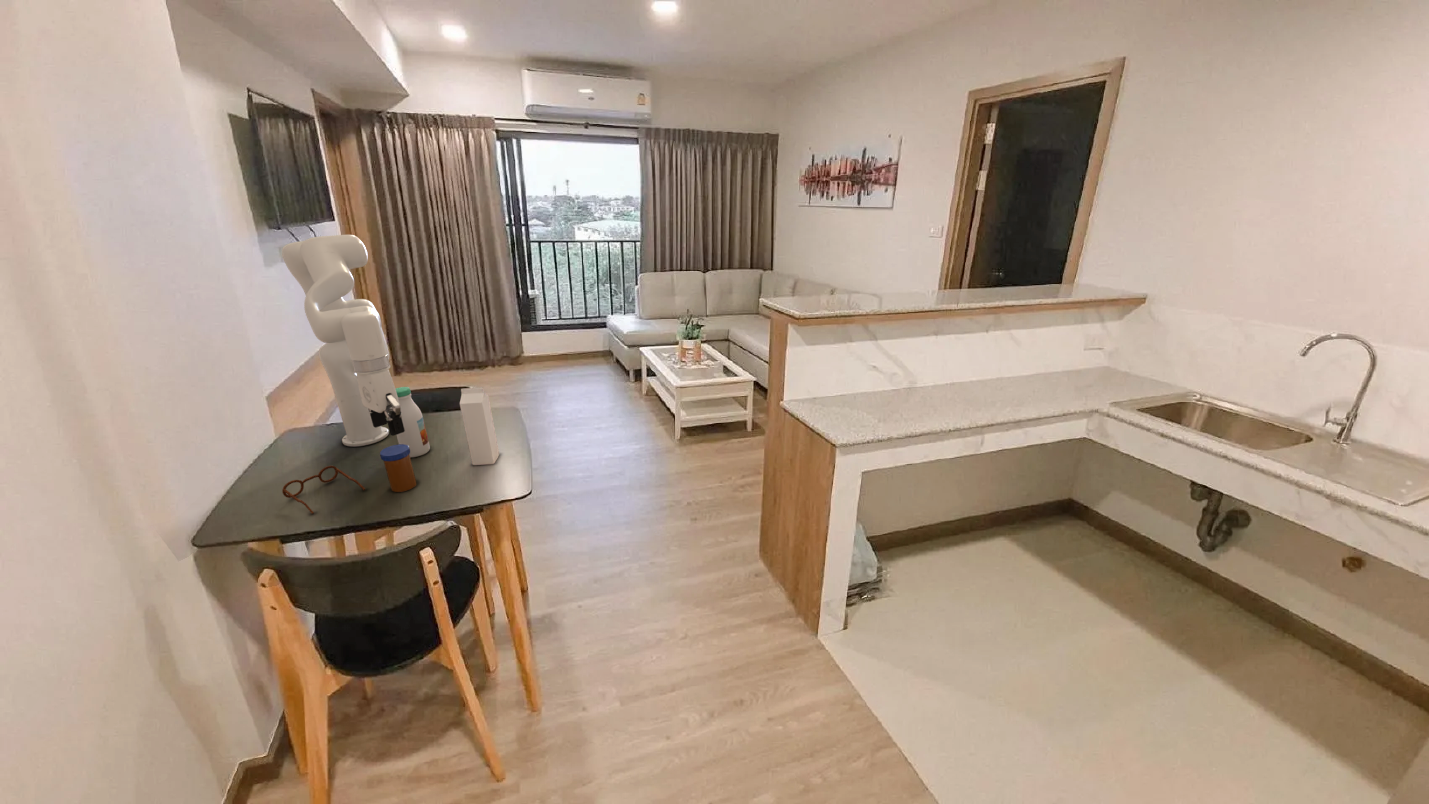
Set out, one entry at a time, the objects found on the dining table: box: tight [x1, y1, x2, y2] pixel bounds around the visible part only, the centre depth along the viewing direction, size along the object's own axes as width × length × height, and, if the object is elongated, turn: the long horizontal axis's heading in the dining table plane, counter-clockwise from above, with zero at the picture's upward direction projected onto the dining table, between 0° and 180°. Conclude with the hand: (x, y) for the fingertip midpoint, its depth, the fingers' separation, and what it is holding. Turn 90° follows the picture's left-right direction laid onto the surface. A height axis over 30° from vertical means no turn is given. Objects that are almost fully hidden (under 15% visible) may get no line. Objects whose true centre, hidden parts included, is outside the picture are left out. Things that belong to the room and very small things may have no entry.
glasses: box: [281, 465, 366, 515], centre depth 142 cm, size 13×13×5 cm
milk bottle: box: [395, 386, 431, 458], centre depth 161 cm, size 8×8×20 cm
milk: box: [459, 387, 500, 466], centre depth 155 cm, size 6×6×22 cm
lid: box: [379, 443, 410, 462], centre depth 143 cm, size 7×7×2 cm
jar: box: [382, 455, 418, 493], centre depth 144 cm, size 6×6×10 cm
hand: (389, 429), depth 140 cm, fingers open, 8 cm apart
